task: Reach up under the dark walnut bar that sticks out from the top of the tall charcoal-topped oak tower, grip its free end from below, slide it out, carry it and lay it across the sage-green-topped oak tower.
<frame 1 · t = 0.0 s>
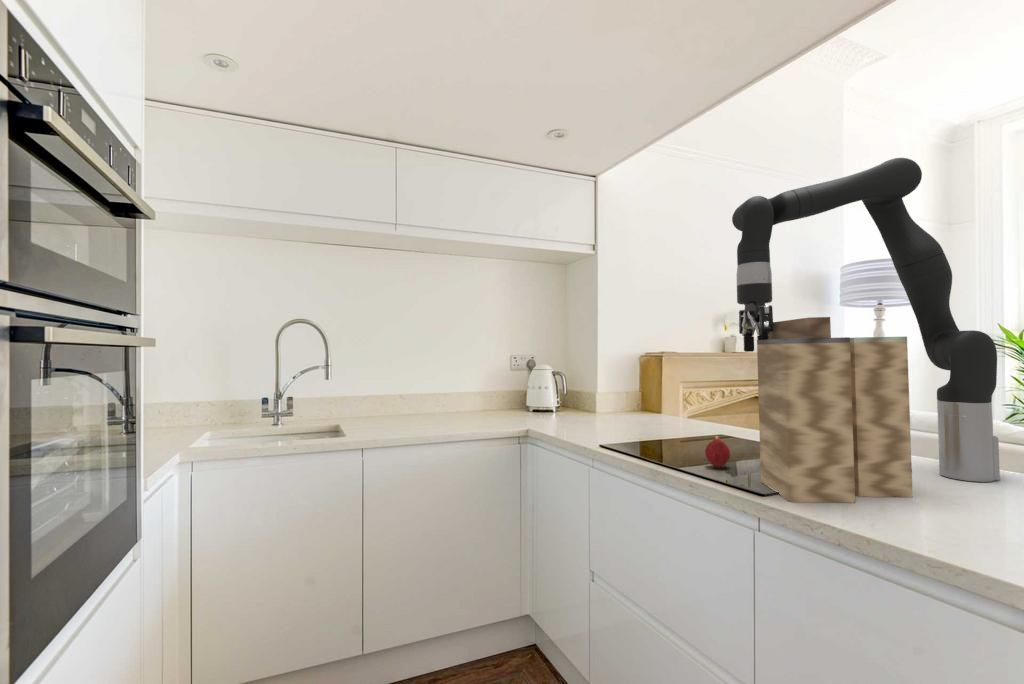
hand: (755, 351, 116), 29 cm above the worktop, tool pointing down, fingers open, 8 cm apart
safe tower: (864, 487, 105), on the worktop
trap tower: (804, 491, 102), on the worktop
onion: (718, 468, 124), on the worktop
walnut bar: (791, 339, 107), point 32 cm above the worktop, touching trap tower
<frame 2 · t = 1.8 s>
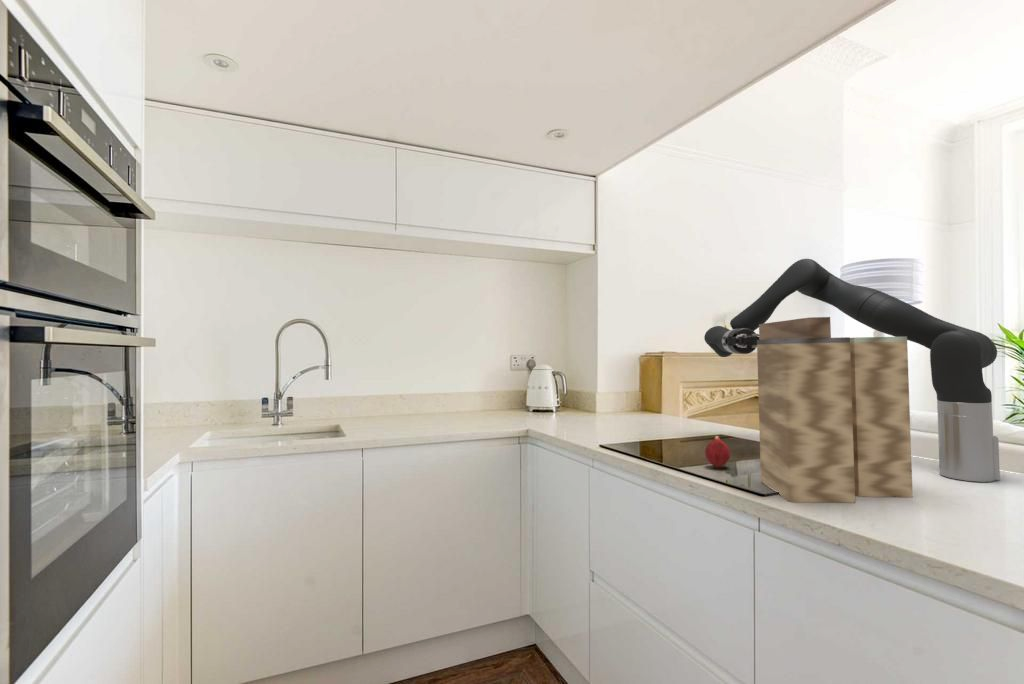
hand: (762, 340, 129), 32 cm above the worktop, tool horizontal, fingers open, 8 cm apart
nothing on the worktop moved.
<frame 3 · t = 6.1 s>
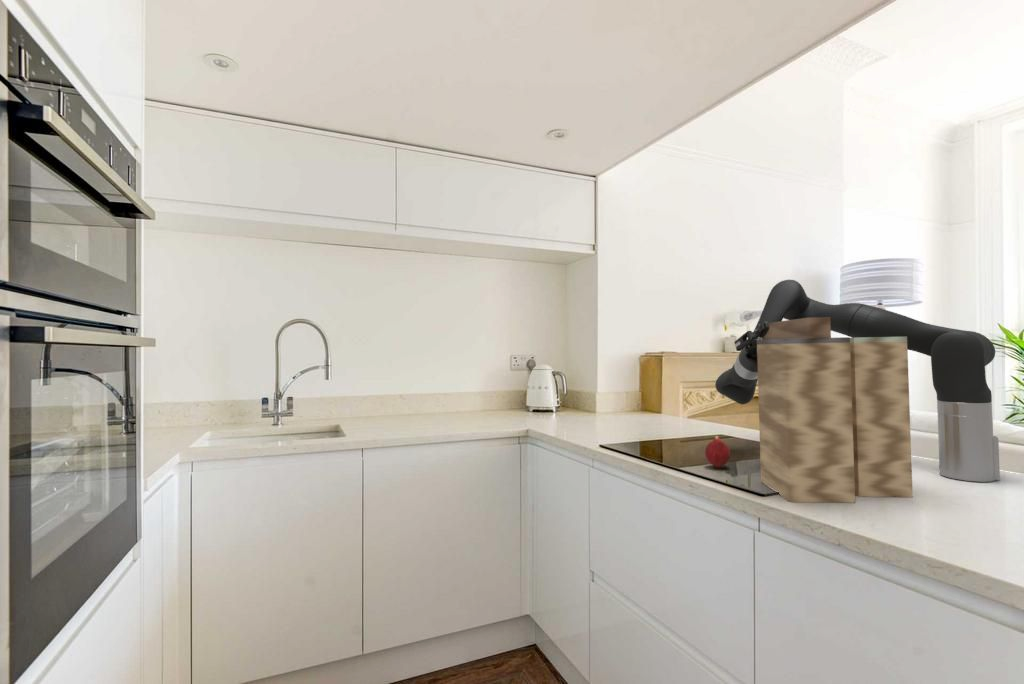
hand: (777, 324, 114), 36 cm above the worktop, tool pointing upward, fingers closed on walnut bar, 4 cm apart
walnut bar: (791, 339, 107), point 32 cm above the worktop, touching gripper, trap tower
everything else where it was.
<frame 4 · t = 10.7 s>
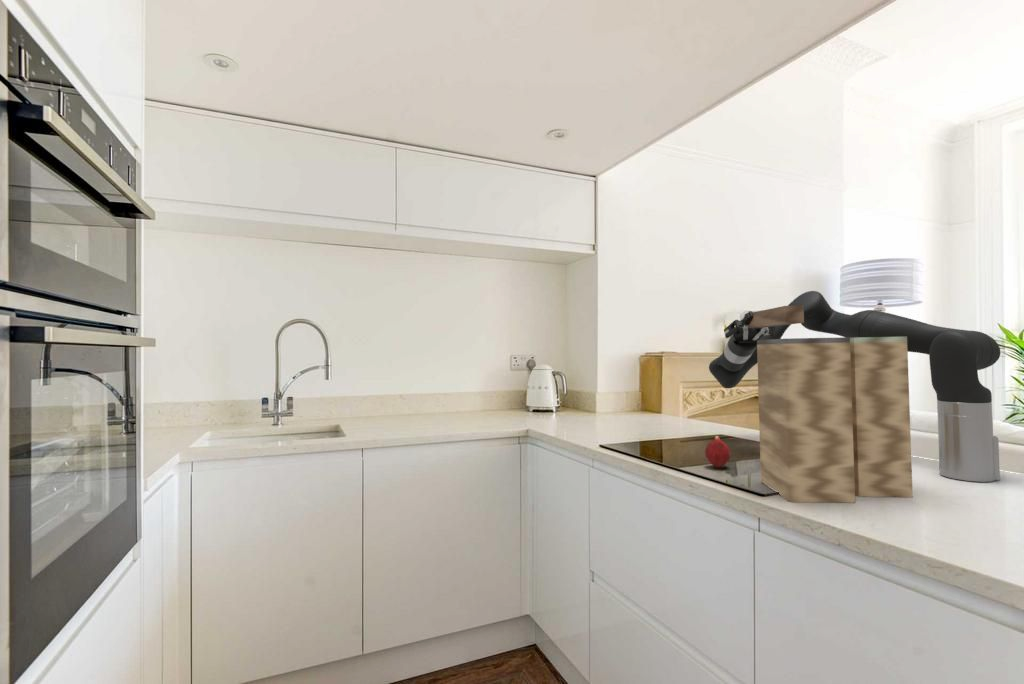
hand: (760, 313, 131), 39 cm above the worktop, tool pointing upward, fingers closed on walnut bar, 4 cm apart
walnut bar: (771, 325, 124), point 36 cm above the worktop, touching gripper
everything else where it was.
when the fingers open (36 cm above the worktop, at t = 15.3 s): walnut bar stays where it is, resting on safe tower.
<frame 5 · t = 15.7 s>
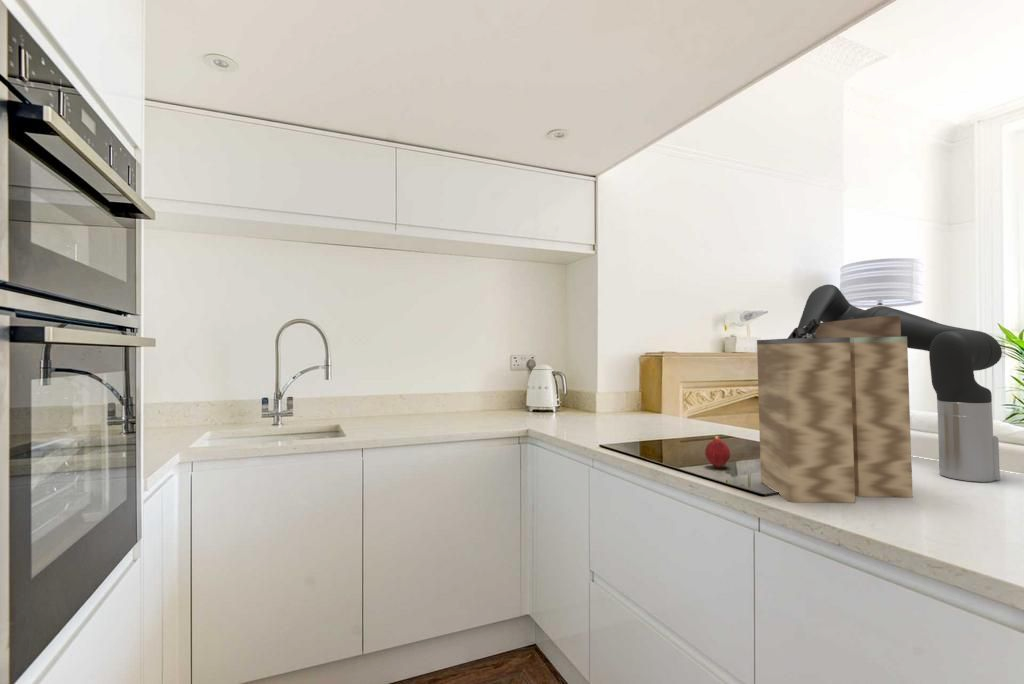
hand: (834, 320, 115), 36 cm above the worktop, tool pointing upward, fingers open, 7 cm apart
walnut bar: (853, 338, 108), point 32 cm above the worktop, touching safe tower
everything else where it was.
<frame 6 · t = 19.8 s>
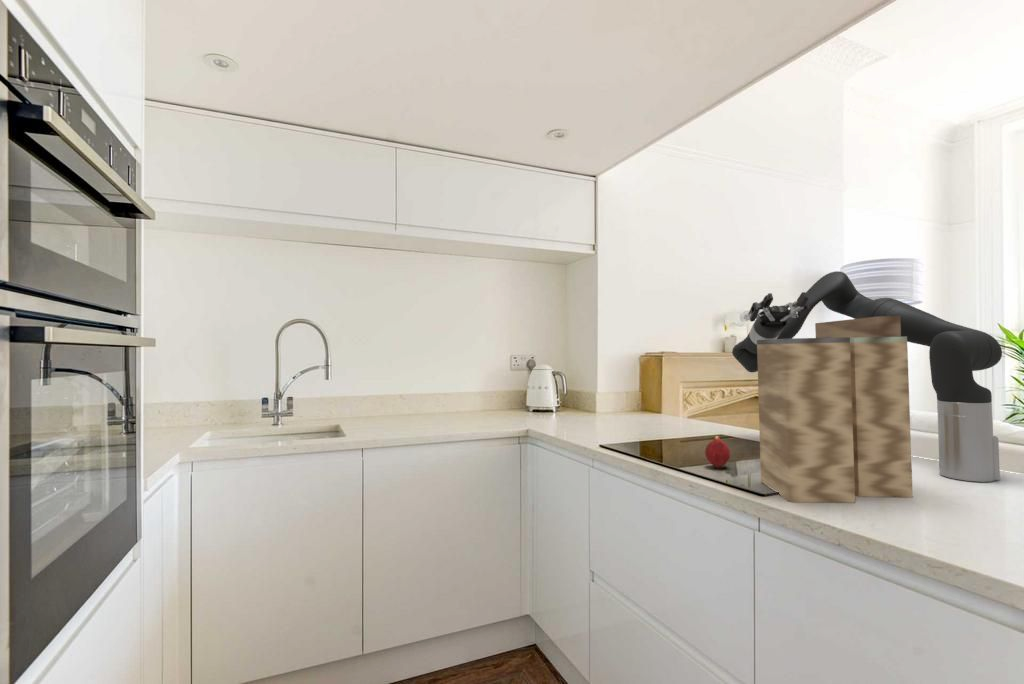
hand: (788, 295, 130), 44 cm above the worktop, tool pointing upward, fingers open, 8 cm apart
nothing on the worktop moved.
at the end: walnut bar inside the target area on the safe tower (2.1 cm from its centre), point 32.0 cm above the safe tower's base; the gripper is holding nothing; walnut bar touching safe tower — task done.
